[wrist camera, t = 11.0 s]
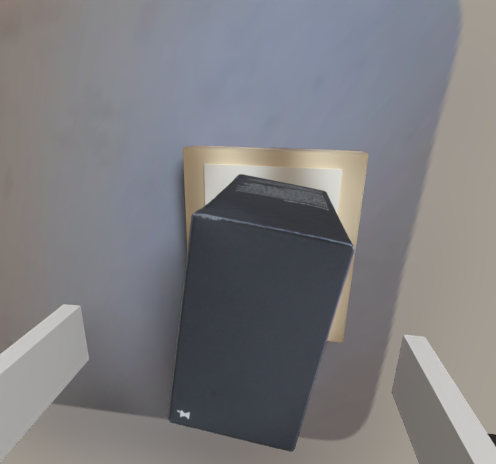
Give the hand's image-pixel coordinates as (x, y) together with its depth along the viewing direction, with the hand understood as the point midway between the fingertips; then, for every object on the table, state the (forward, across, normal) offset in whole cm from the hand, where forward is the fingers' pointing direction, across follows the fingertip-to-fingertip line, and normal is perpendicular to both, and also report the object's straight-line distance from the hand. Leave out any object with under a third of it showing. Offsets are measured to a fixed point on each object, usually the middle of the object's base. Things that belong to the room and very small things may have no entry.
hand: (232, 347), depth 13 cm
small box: (+11, +1, 0) cm, 11 cm away
